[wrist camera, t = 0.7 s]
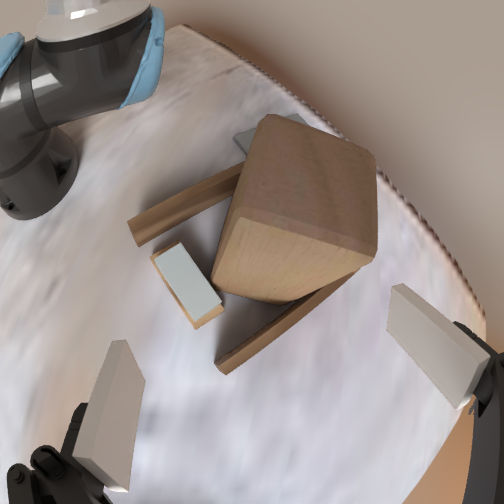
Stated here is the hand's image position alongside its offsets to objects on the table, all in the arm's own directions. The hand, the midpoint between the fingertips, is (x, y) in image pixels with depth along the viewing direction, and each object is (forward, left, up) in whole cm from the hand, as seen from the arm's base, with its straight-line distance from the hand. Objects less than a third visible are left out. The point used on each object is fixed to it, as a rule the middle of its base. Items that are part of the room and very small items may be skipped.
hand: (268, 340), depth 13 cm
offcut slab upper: (-8, +1, -20) cm, 21 cm away
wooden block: (-6, +10, -22) cm, 24 cm away
